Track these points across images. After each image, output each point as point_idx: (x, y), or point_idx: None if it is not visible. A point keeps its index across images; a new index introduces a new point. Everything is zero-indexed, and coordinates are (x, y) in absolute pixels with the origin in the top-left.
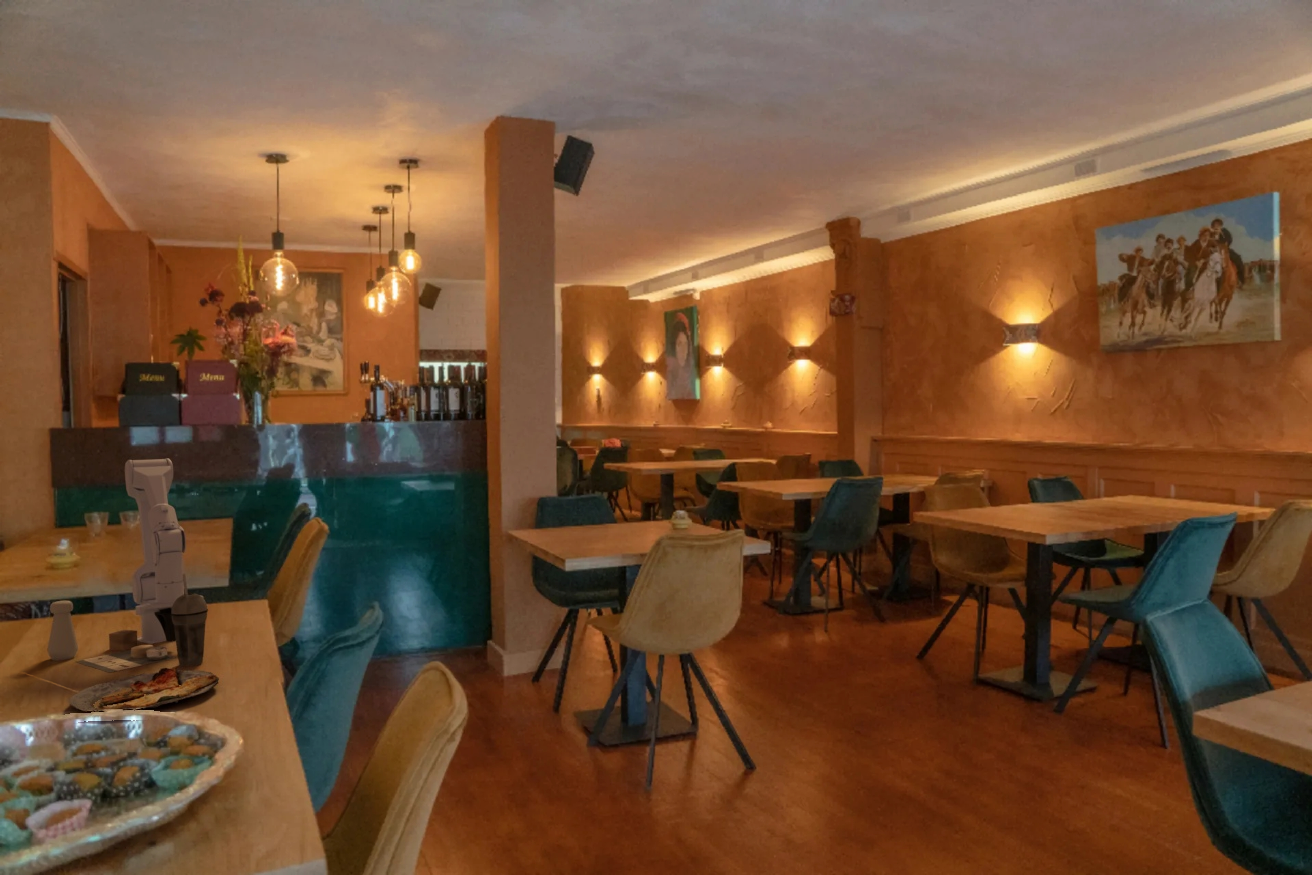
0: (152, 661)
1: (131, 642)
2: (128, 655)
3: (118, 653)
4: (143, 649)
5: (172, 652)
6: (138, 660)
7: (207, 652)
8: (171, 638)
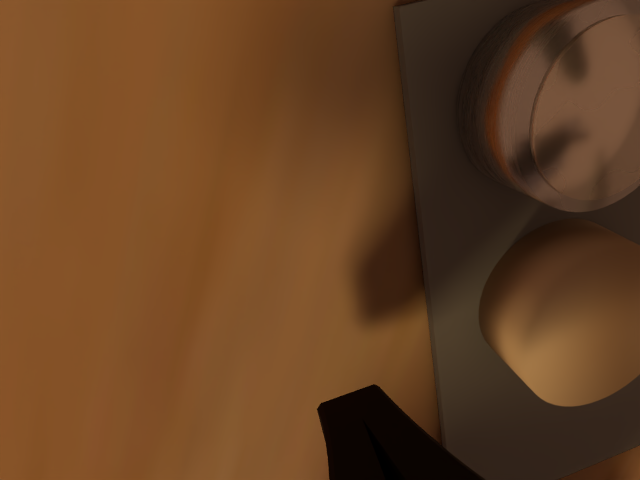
0: None
1: None
2: None
3: (592, 448)
4: (635, 248)
5: (334, 310)
6: None
7: (29, 57)
8: (387, 399)
